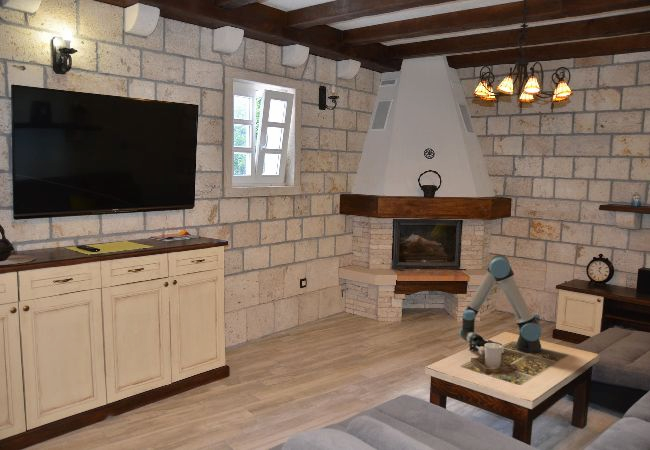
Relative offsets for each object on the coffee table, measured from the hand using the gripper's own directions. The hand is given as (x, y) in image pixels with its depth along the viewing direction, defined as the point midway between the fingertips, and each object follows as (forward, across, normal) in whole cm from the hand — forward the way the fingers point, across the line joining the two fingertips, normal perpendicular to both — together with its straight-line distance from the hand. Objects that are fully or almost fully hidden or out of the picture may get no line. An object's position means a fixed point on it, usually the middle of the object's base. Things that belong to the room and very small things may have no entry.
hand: (492, 351), depth 302 cm
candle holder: (0, 0, -9) cm, 9 cm away
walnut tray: (0, 0, -9) cm, 9 cm away
